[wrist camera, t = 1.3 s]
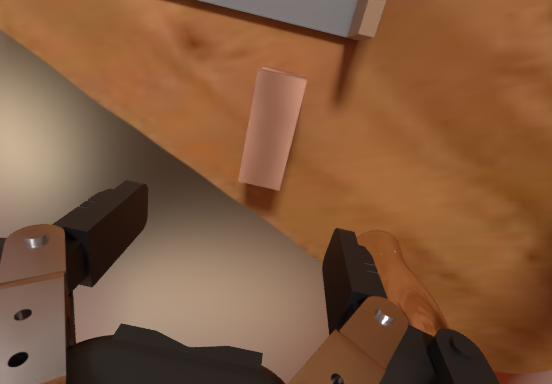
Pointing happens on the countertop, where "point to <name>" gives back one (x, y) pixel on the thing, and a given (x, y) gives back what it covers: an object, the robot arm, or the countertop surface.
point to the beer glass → (403, 283)
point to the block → (271, 126)
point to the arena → (317, 14)
